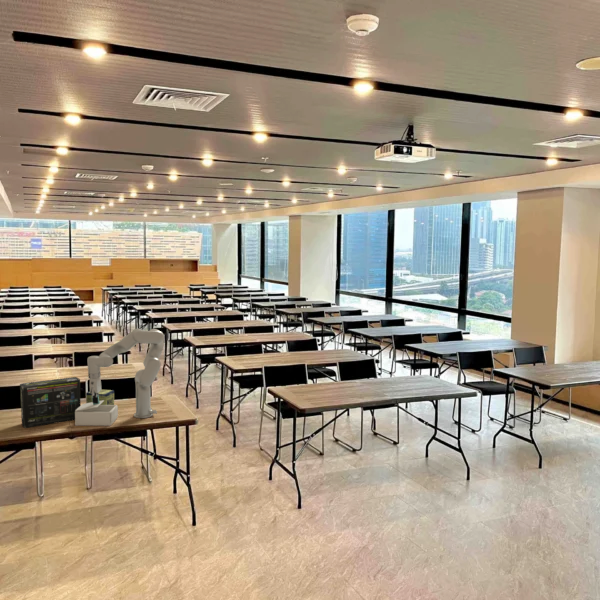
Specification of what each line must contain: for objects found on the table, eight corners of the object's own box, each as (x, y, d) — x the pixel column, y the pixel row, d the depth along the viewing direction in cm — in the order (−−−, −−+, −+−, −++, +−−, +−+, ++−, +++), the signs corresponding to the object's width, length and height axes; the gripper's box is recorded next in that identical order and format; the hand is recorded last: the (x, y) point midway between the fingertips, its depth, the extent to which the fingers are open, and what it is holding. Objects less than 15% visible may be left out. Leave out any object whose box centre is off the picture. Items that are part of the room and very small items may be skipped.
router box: (77, 414, 385) (76, 376, 382) (82, 419, 376) (81, 379, 373) (19, 423, 364) (18, 383, 361) (23, 428, 355) (21, 386, 352)
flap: (104, 400, 377) (102, 392, 377) (96, 407, 363) (94, 398, 362) (83, 404, 377) (81, 395, 376) (75, 411, 362) (73, 402, 362)
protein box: (106, 416, 382) (106, 394, 381) (85, 414, 385) (85, 392, 384) (114, 412, 393) (114, 390, 391) (94, 410, 396) (94, 388, 394)
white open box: (118, 418, 380) (118, 405, 379) (111, 425, 364) (111, 412, 363) (83, 417, 379) (83, 404, 378) (75, 425, 363) (74, 411, 362)
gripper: (96, 378, 360) (98, 406, 362) (103, 372, 376) (105, 399, 378) (84, 378, 360) (86, 406, 362) (92, 372, 375) (93, 399, 377)
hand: (95, 402), depth 370 cm, fingers closed
